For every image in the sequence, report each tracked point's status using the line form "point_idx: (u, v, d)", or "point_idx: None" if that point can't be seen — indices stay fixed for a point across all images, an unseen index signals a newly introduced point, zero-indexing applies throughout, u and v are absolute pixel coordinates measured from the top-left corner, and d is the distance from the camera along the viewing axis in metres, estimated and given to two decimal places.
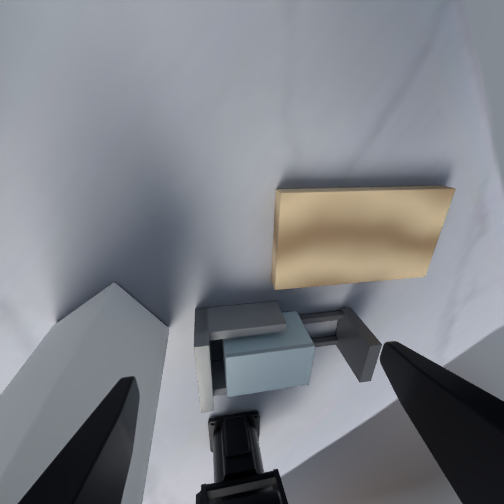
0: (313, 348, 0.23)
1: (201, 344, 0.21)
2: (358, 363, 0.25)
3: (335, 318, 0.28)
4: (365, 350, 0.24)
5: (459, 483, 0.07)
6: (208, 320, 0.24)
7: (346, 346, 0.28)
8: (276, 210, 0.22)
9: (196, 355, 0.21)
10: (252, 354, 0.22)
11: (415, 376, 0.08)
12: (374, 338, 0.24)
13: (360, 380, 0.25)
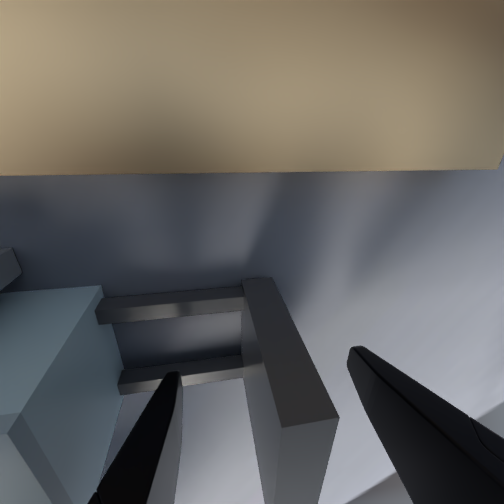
0: (4, 443, 0.05)
1: None
2: (265, 467, 0.07)
3: (220, 307, 0.09)
4: (274, 436, 0.06)
5: (417, 493, 0.07)
6: None
7: (250, 392, 0.09)
8: None
9: None
10: None
11: (376, 382, 0.08)
12: (313, 384, 0.06)
13: None
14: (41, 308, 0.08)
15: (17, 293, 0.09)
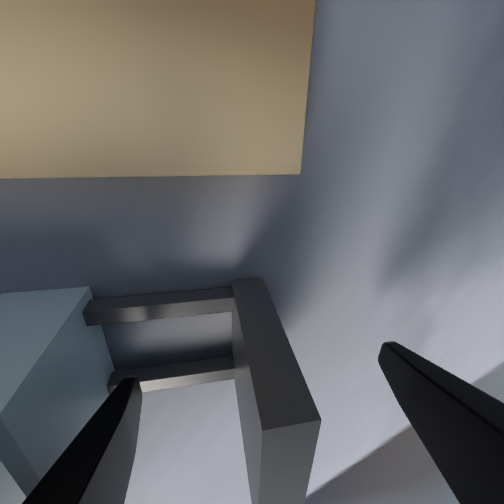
0: None
1: None
2: (252, 469, 0.07)
3: (210, 308, 0.09)
4: (257, 438, 0.06)
5: (457, 483, 0.07)
6: None
7: (240, 393, 0.09)
8: None
9: None
10: None
11: (413, 376, 0.08)
12: (297, 386, 0.06)
13: None
14: (27, 309, 0.08)
15: (4, 294, 0.09)
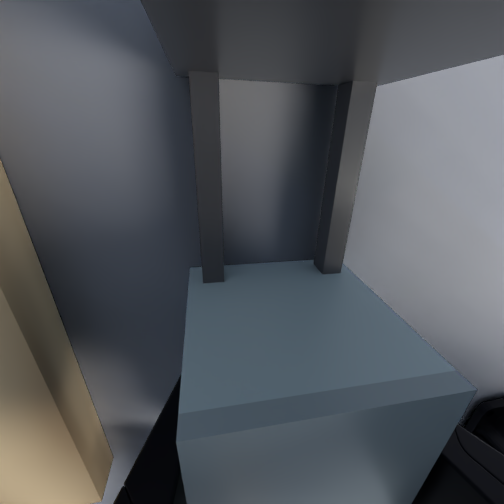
0: (194, 444, 0.04)
1: None
2: None
3: (209, 119, 0.06)
4: None
5: None
6: None
7: (369, 61, 0.04)
8: None
9: None
10: None
11: None
12: None
13: None
14: None
15: None
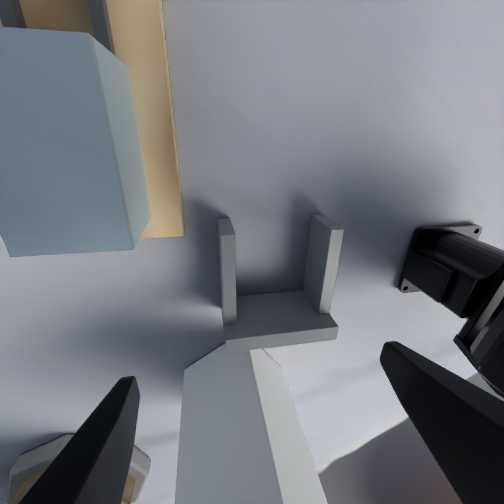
0: None
1: (226, 345, 0.18)
2: None
3: None
4: None
5: (459, 483, 0.07)
6: (222, 311, 0.20)
7: None
8: None
9: (239, 350, 0.18)
10: None
11: (415, 376, 0.08)
12: None
13: None
14: None
15: None
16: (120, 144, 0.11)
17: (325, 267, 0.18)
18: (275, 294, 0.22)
